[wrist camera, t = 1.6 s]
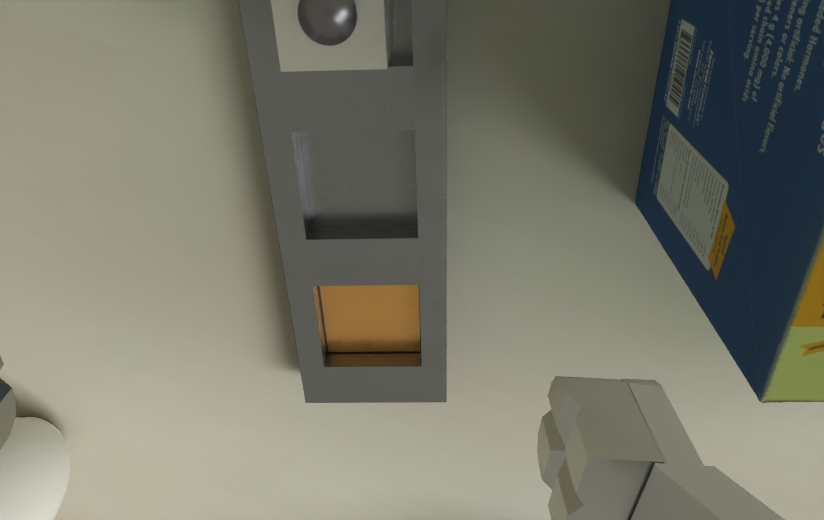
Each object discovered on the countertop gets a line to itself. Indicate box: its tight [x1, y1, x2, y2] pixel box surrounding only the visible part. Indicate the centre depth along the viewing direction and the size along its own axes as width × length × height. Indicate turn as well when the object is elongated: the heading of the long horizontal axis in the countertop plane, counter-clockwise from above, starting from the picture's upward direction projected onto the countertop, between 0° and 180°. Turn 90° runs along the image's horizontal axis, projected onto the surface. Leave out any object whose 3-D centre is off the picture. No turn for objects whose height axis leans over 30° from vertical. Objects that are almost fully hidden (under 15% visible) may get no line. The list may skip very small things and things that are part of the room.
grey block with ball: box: [271, 0, 394, 72], centre depth 25 cm, size 4×4×6 cm
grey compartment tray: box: [238, 0, 446, 403], centre depth 32 cm, size 9×30×2 cm, turn 2°
